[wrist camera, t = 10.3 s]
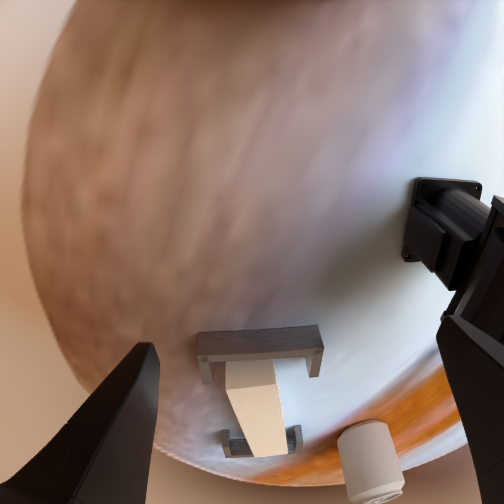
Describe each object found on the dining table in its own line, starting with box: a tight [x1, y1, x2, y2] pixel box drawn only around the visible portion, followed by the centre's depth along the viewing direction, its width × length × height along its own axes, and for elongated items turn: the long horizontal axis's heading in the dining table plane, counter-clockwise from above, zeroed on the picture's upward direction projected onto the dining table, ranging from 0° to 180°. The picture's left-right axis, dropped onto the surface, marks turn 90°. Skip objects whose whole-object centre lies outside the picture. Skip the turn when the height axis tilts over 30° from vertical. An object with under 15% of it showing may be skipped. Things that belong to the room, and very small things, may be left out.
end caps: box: [197, 325, 324, 458], centre depth 29 cm, size 10×22×2 cm, turn 2°
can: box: [337, 420, 405, 504], centre depth 31 cm, size 8×8×12 cm
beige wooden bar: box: [226, 359, 288, 458], centre depth 28 cm, size 4×16×4 cm, turn 9°
